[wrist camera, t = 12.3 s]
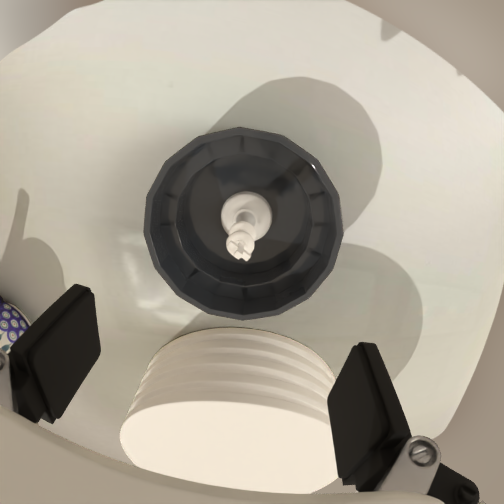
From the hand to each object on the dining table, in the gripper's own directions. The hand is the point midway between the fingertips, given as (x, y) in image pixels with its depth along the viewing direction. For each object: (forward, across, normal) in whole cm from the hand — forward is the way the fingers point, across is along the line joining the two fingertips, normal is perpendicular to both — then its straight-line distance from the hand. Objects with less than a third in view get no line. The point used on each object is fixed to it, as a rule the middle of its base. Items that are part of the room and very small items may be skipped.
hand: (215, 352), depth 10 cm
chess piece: (+20, 0, +1) cm, 20 cm away
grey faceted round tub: (+21, 0, +1) cm, 21 cm away
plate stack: (+21, -4, +28) cm, 35 cm away
